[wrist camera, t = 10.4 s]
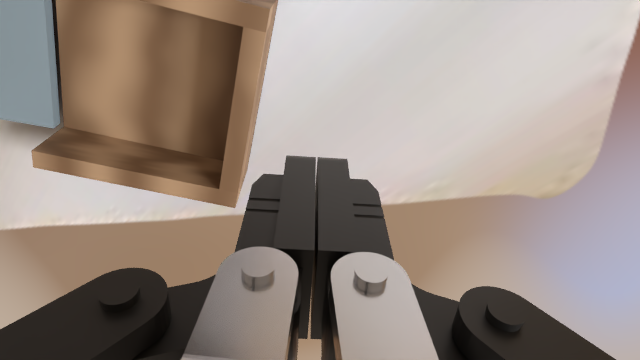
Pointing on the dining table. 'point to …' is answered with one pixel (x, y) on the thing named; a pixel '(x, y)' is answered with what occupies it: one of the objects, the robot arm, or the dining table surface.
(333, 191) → the robot arm
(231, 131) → the open wooden box
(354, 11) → the dining table surface
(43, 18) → the flat rectangular panel
